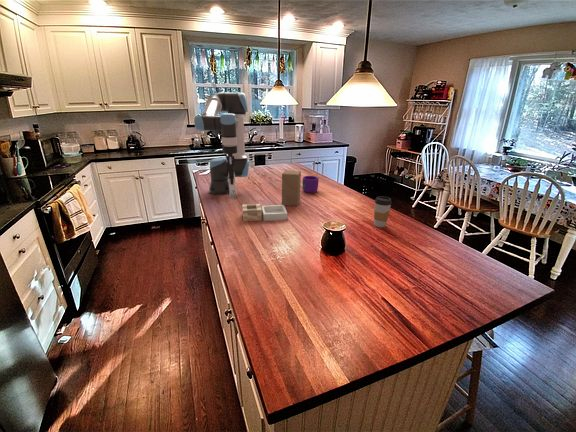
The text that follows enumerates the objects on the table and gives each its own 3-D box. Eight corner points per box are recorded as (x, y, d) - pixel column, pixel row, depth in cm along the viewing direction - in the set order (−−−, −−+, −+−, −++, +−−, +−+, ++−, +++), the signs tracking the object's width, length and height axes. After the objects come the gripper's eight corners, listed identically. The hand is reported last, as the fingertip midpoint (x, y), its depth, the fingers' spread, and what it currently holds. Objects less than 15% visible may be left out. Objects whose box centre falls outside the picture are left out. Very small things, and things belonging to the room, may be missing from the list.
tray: (261, 212, 169) (261, 205, 168) (283, 211, 172) (283, 204, 170) (263, 221, 158) (263, 214, 156) (287, 219, 160) (287, 213, 158)
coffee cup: (376, 220, 161) (380, 194, 155) (390, 225, 155) (395, 198, 150) (368, 224, 155) (372, 198, 150) (382, 229, 150) (387, 202, 144)
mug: (320, 192, 206) (321, 179, 202) (305, 194, 203) (305, 180, 199) (311, 186, 221) (312, 173, 217) (297, 187, 218) (297, 174, 214)
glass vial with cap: (229, 196, 162) (228, 171, 157) (236, 196, 163) (234, 171, 157) (229, 198, 159) (228, 173, 153) (236, 198, 160) (234, 173, 154)
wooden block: (297, 206, 180) (298, 174, 172) (281, 205, 181) (281, 173, 174) (299, 201, 189) (301, 170, 181) (284, 199, 190) (285, 169, 183)
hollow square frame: (242, 214, 166) (242, 204, 164) (260, 213, 168) (259, 203, 166) (243, 221, 157) (242, 210, 155) (261, 220, 159) (261, 209, 156)
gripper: (222, 142, 156) (225, 184, 166) (221, 148, 141) (225, 193, 151) (236, 142, 157) (238, 183, 167) (237, 148, 143) (239, 193, 152)
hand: (232, 188), depth 159 cm, fingers closed on glass vial with cap, 3 cm apart
